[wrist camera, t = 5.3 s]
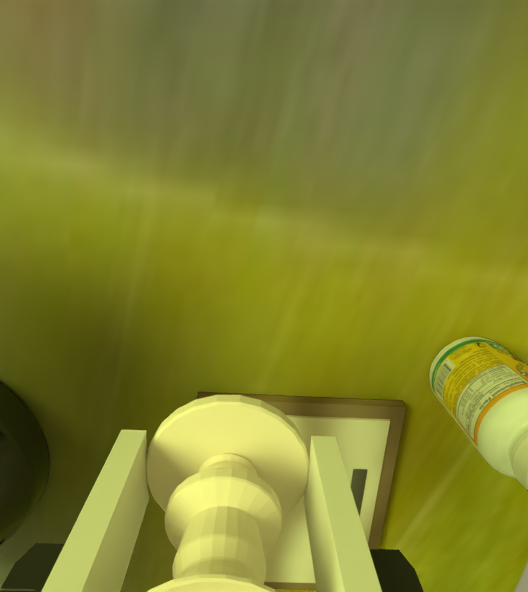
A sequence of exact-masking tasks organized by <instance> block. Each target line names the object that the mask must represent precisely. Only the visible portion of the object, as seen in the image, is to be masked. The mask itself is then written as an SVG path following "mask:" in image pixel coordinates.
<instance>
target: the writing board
mask: <svg viewBox="0 0 528 592" xmlns="http://www.w3.org/2000/svg"><path fill="white" fill-rule="evenodd" d="M214 395H242V396H246V397H250V398H254V399H258V400H262V401H264V402H266V403H267V404H269V405H271V406H273V407H275V408H277V409H279V410H280V411H282V412H283V413H284V414H285V415H286V416H287V417H288V418H289V419H290V420H291V421H292V422H294V423H295V425H296V427H297V428H298V430H299V432H300V433H301V435H302V437H303V438H304V441H305V445H306V449H307V453H308V457H309V454H310V445H311V436H334V437H336V441H337V444H338V447H339V451H340V454H341V457H342V461H343V464H344V467H345V471H346V474H347V477H348V481H349V484H350V487H351V491H352V494H353V497H354V501H355V504H356V507H357V510H358V514H359V517H360V520H361V524H362V527H363V530H364V534H365V537H366V540H367V544H368V547H369V549H379V546H380V541H381V536H382V531H383V526H384V520H385V515H386V510H387V505H388V500H389V494H390V489H391V484H392V479H393V474H394V468H395V463H396V458H397V453H398V448H399V442H400V437H401V432H402V427H403V422H404V416H405V411H406V406H405V404H404V403H403V401H398V400H374V399H350V398H327V397H303V396H279V395H256V394H232V393H208V392H198V396H197V399H200V398H205V397H209V396H214ZM304 498H305V492H304V494H303V497H302V499H301V500H300V501H299V502H298V504H297V505H296V506H295V507H294V509H293V510H292V511H291V512H290V513H289V514H288V515H286V516H285V517H284V518H282V530H281V533H280V535H279V538H278V540H277V542H276V543H275V545H274V546H273V547H272V548H271V550H270V551H269V552H268V553H267V554H265V555H264V557H265V562H266V578H265V581H264V585H266V586H268V587H270V588H273V589H299V590H317V589H316V582H315V575H314V569H313V562H312V555H311V549H310V542H309V535H308V528H307V522H306V515H305V508H304Z"/></svg>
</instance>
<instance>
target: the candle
mask: <svg viewBox="0 0 528 592" xmlns="http://www.w3.org/2000/svg"><path fill="white" fill-rule="evenodd" d="M309 465H310V463H309V457H308V453H307V449H306V445H305V441H304V438H303V437H302V435H301V433H300V432H299V430H298V428H297V427H296V425H295V423H294V422H292V421H291V420H290V419H289V418H288V417H287V416H286V415H285V414H284V413H283V412H282V411H280V410H279V409H277V408H275V407H273V406H271V405H269V404H267V403H266V402H264V401H262V400H258V399H254V398H250V397H246V396H242V395H214V396H209V397H205V398H200V399H196V400H194V401H192V402H190V403H188V404H186V405H184V406H182V407H180V408H178V409H176V410H175V411H174V412H173V413H172V414H171V415H170V416H169V417H167V418H166V419H165V420H164V421H163V422H162V423H161V425H160V426H159V428H158V430H157V431H156V433H155V434H154V436H153V438H152V440H151V443H150V446H149V449H148V453H147V457H146V478H147V484H148V486H149V489H150V491H151V494H152V496H153V498H154V499H155V500H156V502H157V503H158V504H159V506H160V507H161V508H162V509H163V511H164V512H165V513H166V514H165V517H164V520H165V531H166V533H167V536H168V538H169V541H170V543H171V544H172V545H173V546H174V548H175V549H176V550H177V553H176V556H175V559H174V562H173V566H172V572H173V580H171V581H168V582H166V583H164V584H162V585H159V586H157V587H155V588H152V589H150V590H149V591H148V592H277V591H276V590H275V589H273V588H270V587H268V586H266V585H264V581H265V578H266V562H265V557H264V555H265V554H267V553H268V552H269V551H270V550H271V548H272V547H273V546H274V545H275V543H276V542H277V540H278V538H279V535H280V533H281V530H282V518H284V517H285V516H286V515H288V514H289V513H290V512H291V511H292V510H293V509H294V507H295V506H296V505H297V504H298V502H299V501H300V500H301V499H302V497H303V494H304V492H305V489H306V487H307V483H308V474H309Z"/></svg>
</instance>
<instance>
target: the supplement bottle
mask: <svg viewBox="0 0 528 592" xmlns="http://www.w3.org/2000/svg"><path fill="white" fill-rule="evenodd" d="M429 381H430V386H431V389H432V391H433V393H434V394H435V396H436V397H437V399H438V400H439V401H440V402H441V404H442V405H443V406H444V407H445V409H446V410H447V411H448V413H449V414H450V415H451V416H452V418H453V419H454V420H455V422H456V423H457V424H458V425H459V427H460V428H461V429H462V430H463V432H464V433H465V434H466V436H467V437H468V438H469V440H470V441H471V442H472V443H473V445H474V446H475V447H476V449H477V450H478V451H479V453H480V454H481V455H482V457H483V458H484V459H485V460H486V461H487V463H488V464H489V465H490V466H492V467H493V468H494V469H496V470H497V471H499V472H500V473H502V474H505V475H507V476H510V477H513V478H516V479H517V480H518V481H519V482H520V483H521V484H522V485H523V486H524V488H525V489H526V490H527V491H528V365H527V364H525V363H524V362H523V361H521V360H520V359H519V358H517V357H516V356H514V355H513V354H512V353H510V352H509V351H508V350H506V349H505V348H504V347H502V346H501V345H499V344H498V343H496V342H494V341H492V340H489V339H486V338H482V337H464V338H461V339H458V340H456V341H454V342H452V343H450V344H449V345H447V346H446V347H444V348H443V349H442V350H441V351H440V352H439V353H438V354H437V356H436V357H435V359H434V360H433V362H432V365H431V368H430V373H429Z"/></svg>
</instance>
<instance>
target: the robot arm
mask: <svg viewBox="0 0 528 592" xmlns="http://www.w3.org/2000/svg"><path fill="white" fill-rule="evenodd" d="M146 457H147V437H146V430H121V432H120V434H119V436H118V438H117V440H116V442H115V444H114V446H113V448H112V450H111V452H110V454H109V456H108V458H107V460H106V462H105V464H104V466H103V468H102V470H101V472H100V474H99V476H98V478H97V480H96V482H95V484H94V486H93V488H92V490H91V492H90V494H89V496H88V498H87V500H86V502H85V504H84V506H83V508H82V510H81V512H80V514H79V517H78V519H77V521H76V523H75V525H74V527H73V529H72V531H71V533H70V535H69V537H68V539H67V541H66V543H65V544H40V543H36V544H35V545H34V546H33V547H32V548H31V549H30V550H29V551H28V552H27V553H26V554H25V555H24V556H23V557H22V558H21V559H20V560H18V561H17V562H16V563H15V565H14V567H13V568H12V570H11V572H10V573H9V575H8V577H7V578H6V580H5V582H4V583H3V585H2V587H1V590H0V592H120V591H121V588H122V585H123V582H124V578H125V575H126V572H127V569H128V566H129V562H130V559H131V556H132V553H133V549H134V546H135V543H136V540H137V537H138V533H139V530H140V527H141V524H142V520H143V517H144V514H145V511H146V507H147V504H148V501H149V491H148V484H147V478H146ZM309 463H310V465H309V474H308V483H307V487H306V489H305V498H304V508H305V515H306V522H307V528H308V535H309V542H310V549H311V555H312V562H313V569H314V575H315V582H316V589H317V592H423V589H422V587H421V584H420V582H419V579H418V576H417V574H416V571H415V569H414V568H413V567H412V566H411V564H410V563H409V562H408V561H407V559H406V558H405V557H404V556H403V554H402V553H401V552H400V551H399V550H386V549H369V547H368V544H367V540H366V537H365V534H364V530H363V527H362V524H361V520H360V517H359V514H358V510H357V507H356V504H355V501H354V497H353V494H352V491H351V487H350V484H349V481H348V477H347V474H346V471H345V467H344V464H343V461H342V457H341V454H340V451H339V447H338V444H337V441H336V437H334V436H311V445H310V454H309ZM48 475H49V455H48V449H47V445H46V441H45V439H44V436H43V434H42V431H41V429H40V427H39V425H38V423H37V422H36V420H35V419H34V417H33V415H32V414H31V413H30V411H29V410H28V409H27V408H26V406H25V405H24V404H23V403H22V402H21V401H20V400H19V399H18V398H17V397H16V396H15V395H14V394H13V393H12V392H11V391H10V390H8V389H7V388H6V387H5V386H3V385H2V384H1V383H0V545H1V544H3V543H4V542H5V541H7V540H8V539H9V538H10V537H11V536H12V535H13V534H14V533H15V532H16V531H17V530H18V529H19V528H20V527H21V525H22V524H23V523H24V521H25V520H26V519H27V517H28V515H29V514H30V512H31V511H32V509H33V508H34V506H35V505H36V503H37V502H38V500H39V499H40V497H41V495H42V493H43V491H44V489H45V486H46V483H47V480H48Z"/></svg>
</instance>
